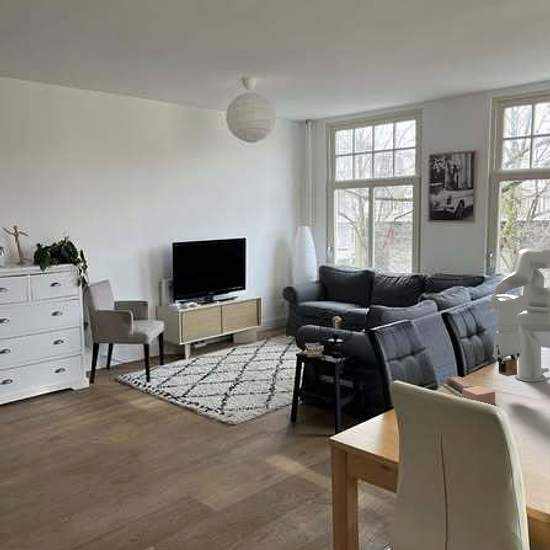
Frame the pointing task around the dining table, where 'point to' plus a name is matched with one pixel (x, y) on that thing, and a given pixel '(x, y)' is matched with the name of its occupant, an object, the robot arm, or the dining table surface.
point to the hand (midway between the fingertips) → (507, 370)
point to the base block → (479, 394)
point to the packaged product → (457, 385)
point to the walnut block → (510, 367)
